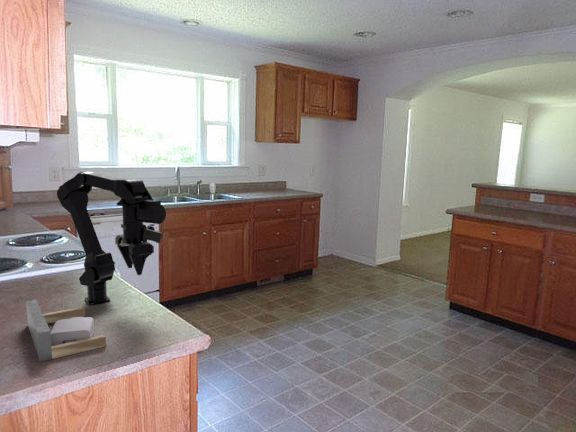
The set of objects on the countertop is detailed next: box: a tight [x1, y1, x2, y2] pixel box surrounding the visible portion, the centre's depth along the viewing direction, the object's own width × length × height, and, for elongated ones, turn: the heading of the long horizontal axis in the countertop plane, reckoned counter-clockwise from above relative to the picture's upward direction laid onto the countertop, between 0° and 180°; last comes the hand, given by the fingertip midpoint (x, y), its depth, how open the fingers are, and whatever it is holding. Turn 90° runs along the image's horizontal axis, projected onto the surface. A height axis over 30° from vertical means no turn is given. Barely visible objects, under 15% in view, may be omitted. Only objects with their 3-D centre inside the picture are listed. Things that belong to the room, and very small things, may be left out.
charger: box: [50, 316, 95, 346], centre depth 112 cm, size 5×9×15 cm
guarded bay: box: [25, 299, 107, 363], centre depth 112 cm, size 25×14×7 cm, turn 37°
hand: (134, 271), depth 131 cm, fingers open, 9 cm apart
